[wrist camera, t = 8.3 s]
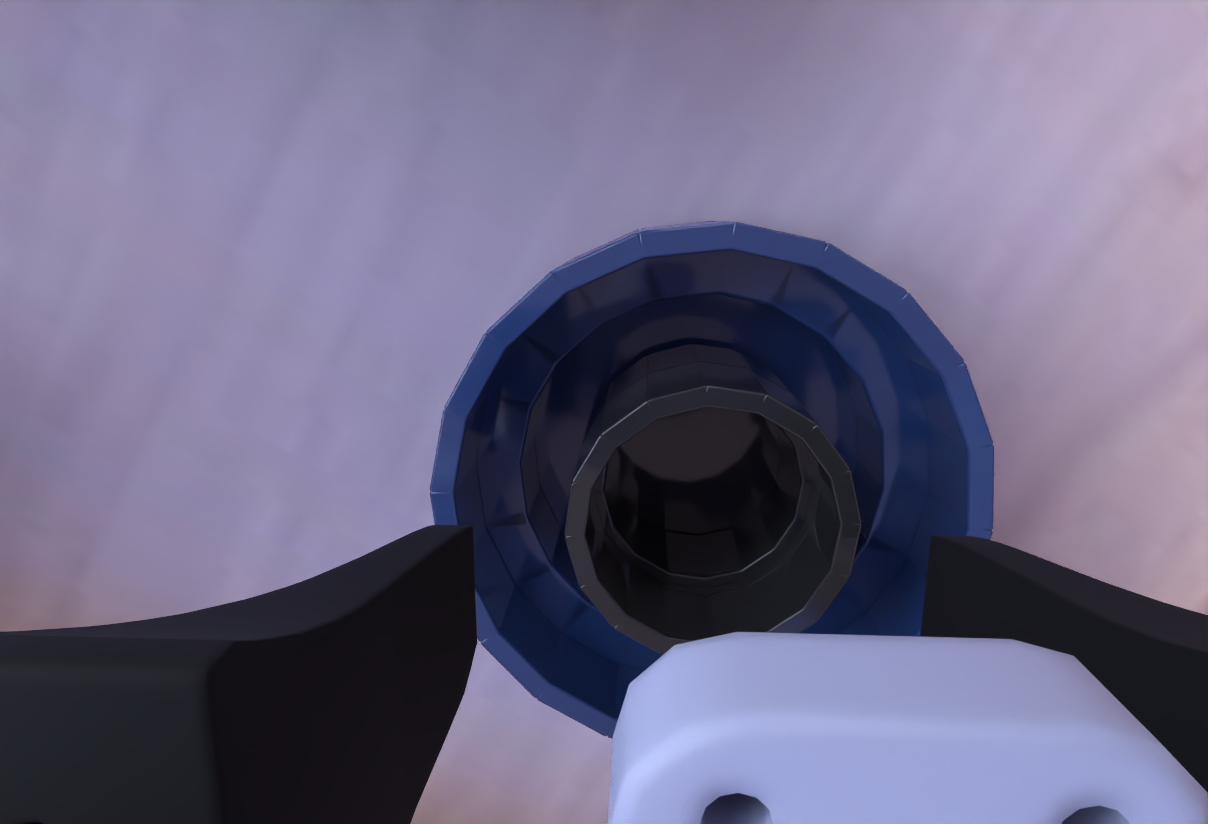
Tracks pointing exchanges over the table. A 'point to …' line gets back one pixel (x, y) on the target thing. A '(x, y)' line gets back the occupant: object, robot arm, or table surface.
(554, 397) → the big bowl
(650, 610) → the dark grey hollow cylinder
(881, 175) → the table surface
